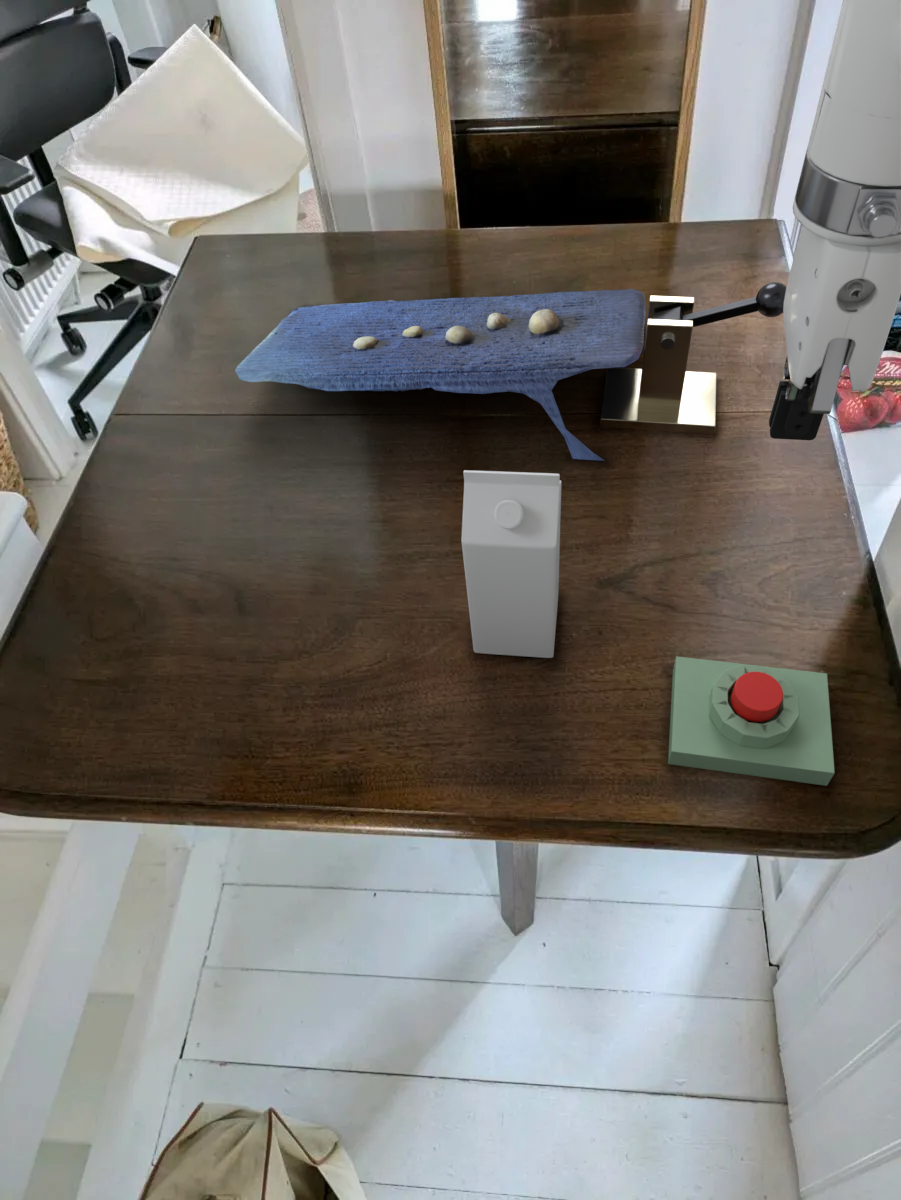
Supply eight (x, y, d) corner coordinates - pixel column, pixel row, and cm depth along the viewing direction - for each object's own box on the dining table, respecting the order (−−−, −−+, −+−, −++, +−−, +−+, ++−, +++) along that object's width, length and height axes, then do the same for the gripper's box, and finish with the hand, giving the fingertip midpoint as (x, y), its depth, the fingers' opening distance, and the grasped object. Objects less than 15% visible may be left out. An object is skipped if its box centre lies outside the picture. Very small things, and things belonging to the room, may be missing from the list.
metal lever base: (714, 381, 96) (733, 287, 87) (713, 434, 91) (733, 340, 81) (607, 375, 98) (614, 282, 89) (600, 427, 93) (606, 334, 83)
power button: (777, 685, 67) (782, 674, 66) (779, 725, 65) (784, 714, 64) (730, 680, 68) (734, 668, 67) (730, 719, 66) (734, 708, 65)
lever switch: (792, 299, 83) (787, 271, 81) (793, 319, 81) (789, 290, 79) (659, 332, 89) (652, 307, 87) (658, 351, 87) (650, 325, 85)
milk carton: (482, 591, 80) (469, 438, 65) (558, 596, 79) (562, 441, 64) (473, 654, 76) (457, 505, 61) (553, 659, 75) (556, 510, 60)
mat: (241, 467, 97) (214, 370, 90) (312, 375, 119) (295, 291, 112) (644, 460, 88) (648, 351, 81) (642, 362, 110) (644, 270, 103)
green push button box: (820, 687, 71) (833, 661, 68) (827, 786, 66) (841, 762, 63) (672, 670, 73) (678, 643, 70) (668, 764, 68) (674, 740, 65)
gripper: (963, 261, 43) (856, 509, 58) (917, 126, 52) (834, 370, 67) (809, 258, 45) (742, 501, 59) (789, 126, 54) (735, 367, 68)
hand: (791, 431), depth 63 cm, fingers closed
